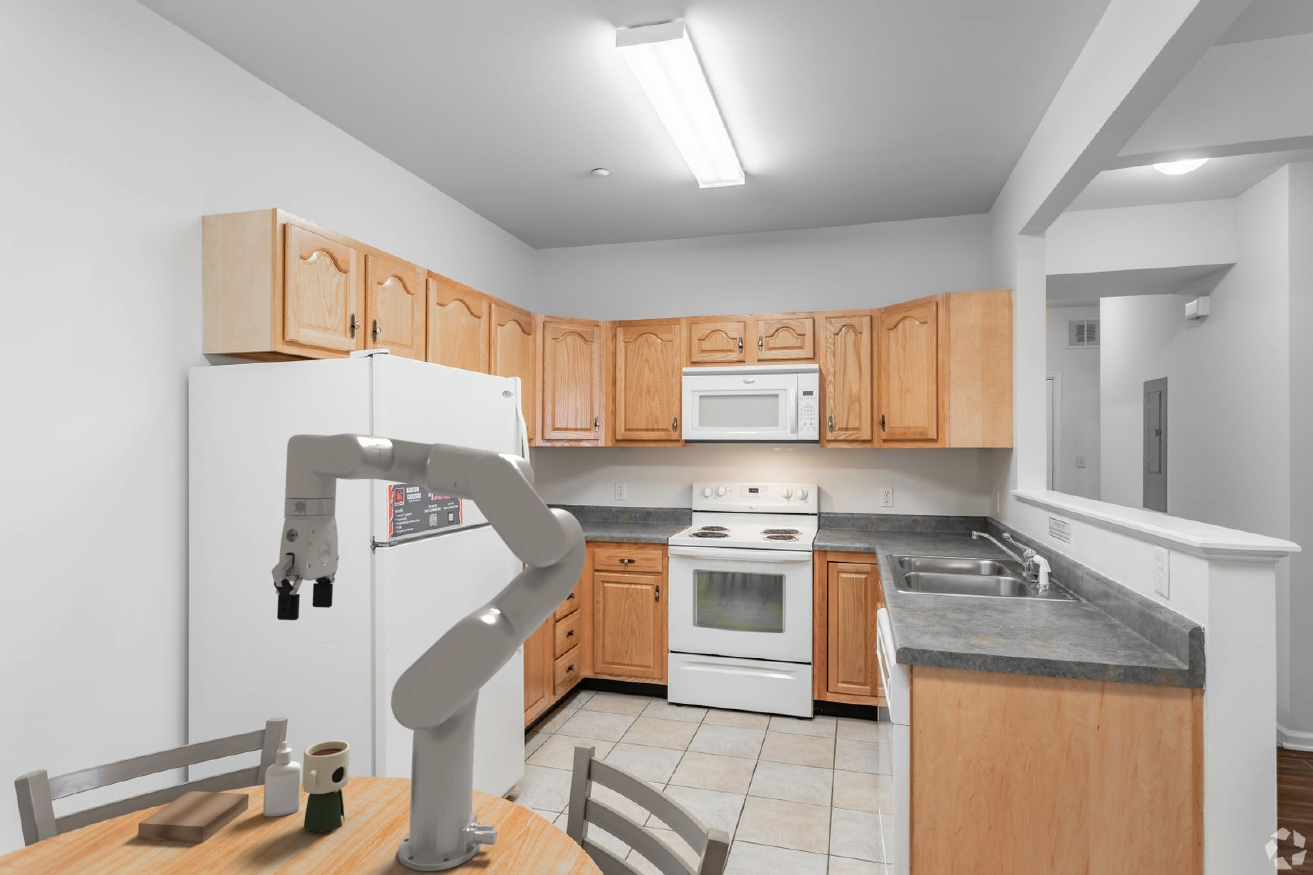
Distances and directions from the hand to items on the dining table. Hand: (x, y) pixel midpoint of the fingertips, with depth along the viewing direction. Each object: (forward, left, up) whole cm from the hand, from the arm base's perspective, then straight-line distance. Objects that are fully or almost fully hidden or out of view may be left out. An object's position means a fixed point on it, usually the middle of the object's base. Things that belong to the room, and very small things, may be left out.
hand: (305, 612), depth 111 cm
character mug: (-2, -5, -37) cm, 37 cm away
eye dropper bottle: (+8, -9, -37) cm, 39 cm away
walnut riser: (+20, -4, -37) cm, 42 cm away
